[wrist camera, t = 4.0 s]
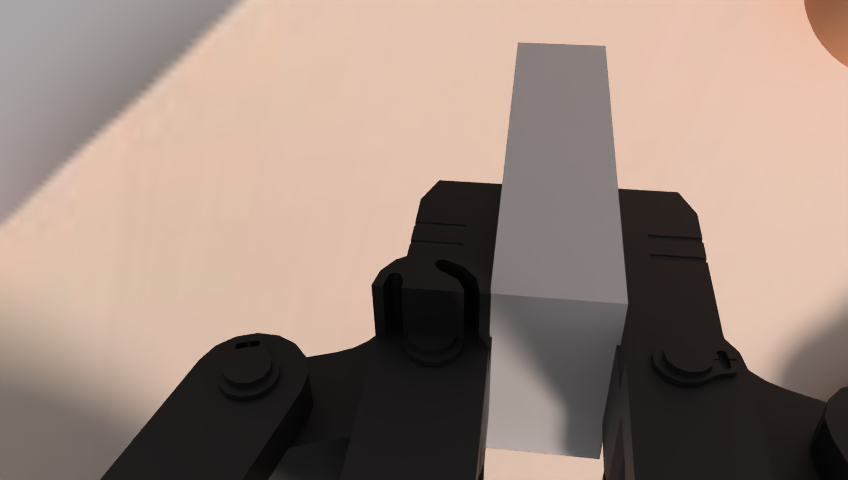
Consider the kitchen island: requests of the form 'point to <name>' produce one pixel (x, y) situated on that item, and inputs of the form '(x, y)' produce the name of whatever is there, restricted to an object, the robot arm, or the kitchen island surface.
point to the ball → (830, 25)
